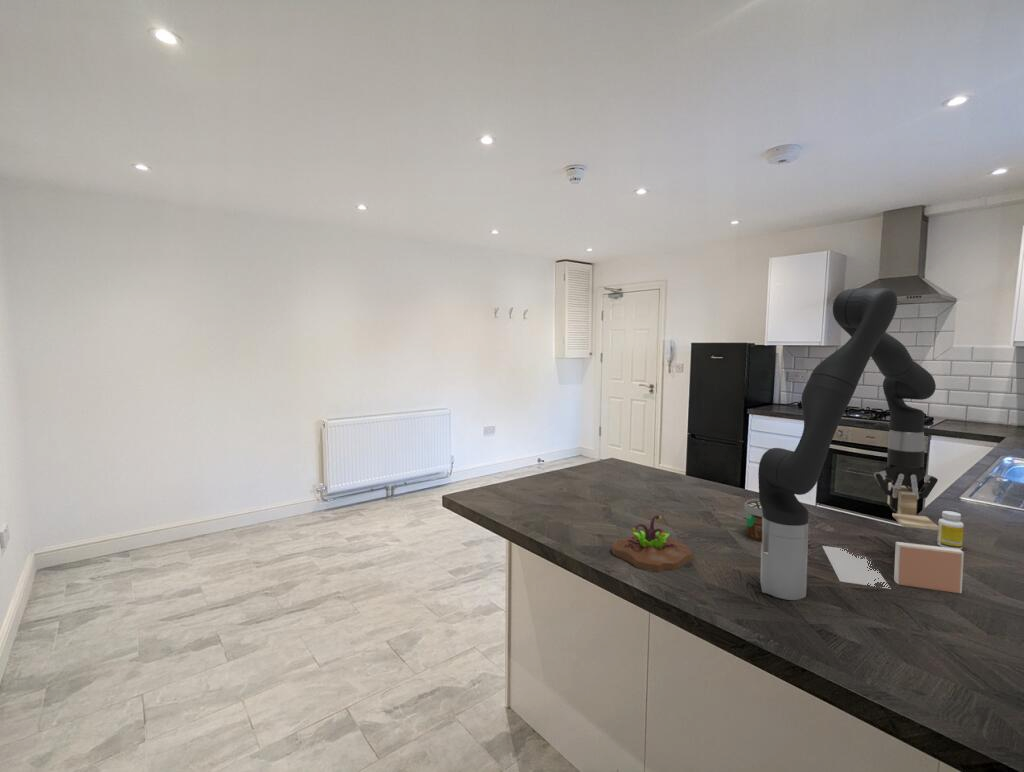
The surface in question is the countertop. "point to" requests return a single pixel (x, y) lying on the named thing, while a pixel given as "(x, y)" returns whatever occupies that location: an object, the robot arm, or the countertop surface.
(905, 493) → the turner
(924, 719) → the countertop surface
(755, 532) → the food container
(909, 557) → the tile
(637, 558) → the toy plant on soil
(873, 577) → the mat
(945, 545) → the supplement bottle
